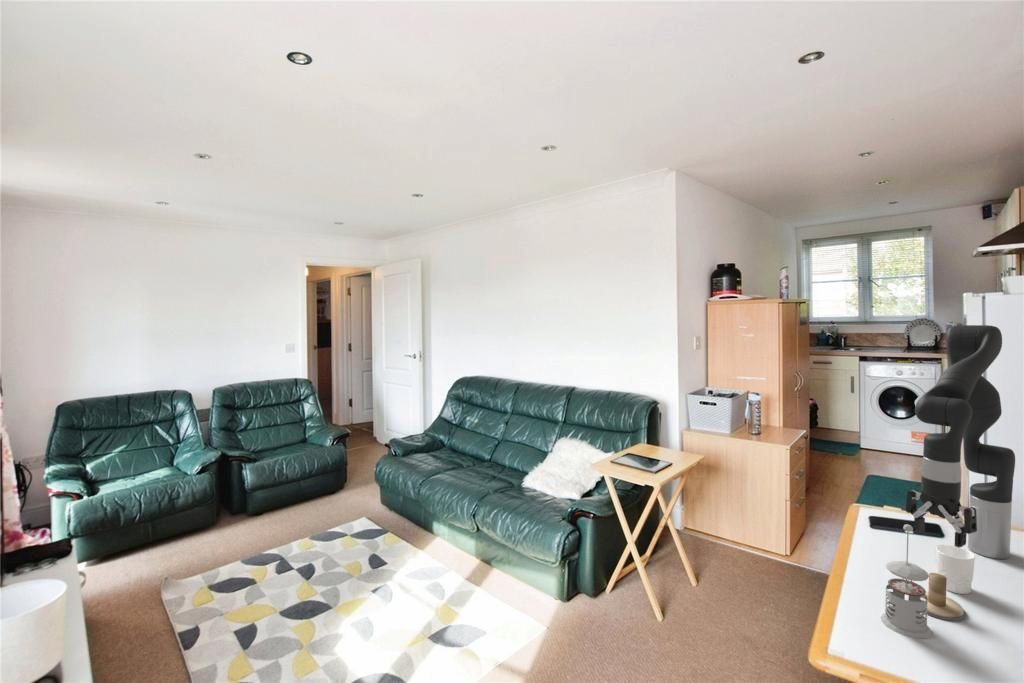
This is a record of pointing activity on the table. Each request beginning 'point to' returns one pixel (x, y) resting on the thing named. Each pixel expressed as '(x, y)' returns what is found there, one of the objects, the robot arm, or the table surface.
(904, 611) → the french press
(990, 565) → the table surface
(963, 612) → the mat
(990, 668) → the table surface
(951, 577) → the white cup
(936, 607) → the lid
